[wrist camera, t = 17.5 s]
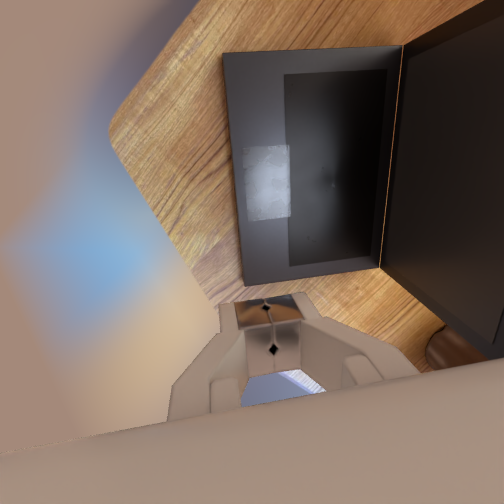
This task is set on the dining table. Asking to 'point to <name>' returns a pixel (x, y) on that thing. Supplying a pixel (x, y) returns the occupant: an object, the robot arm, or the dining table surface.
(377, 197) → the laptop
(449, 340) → the plant pot
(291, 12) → the dining table surface
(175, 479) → the robot arm
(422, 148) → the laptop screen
